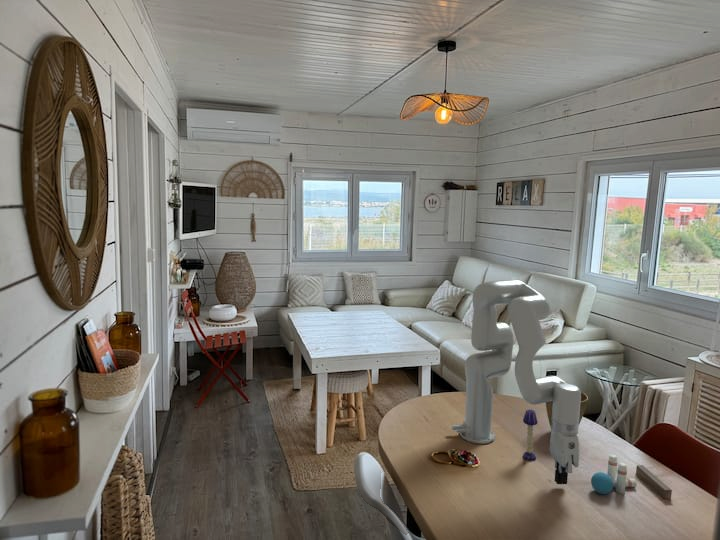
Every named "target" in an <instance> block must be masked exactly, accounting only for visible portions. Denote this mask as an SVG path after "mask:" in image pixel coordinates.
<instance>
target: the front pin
mask: <svg viewBox="0 0 720 540" xmlns="http://www.w3.org/2000/svg"><path fill="white" fill-rule="evenodd" d="M612 481H613V488H616V483H617V478H616V479H612ZM636 487H637V481H636V479H635V478H630V477H629V478H627V477H626V484H625V488H636Z"/></svg>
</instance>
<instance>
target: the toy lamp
mask: <svg viewBox="0 0 720 540" xmlns="http://www.w3.org/2000/svg"><path fill="white" fill-rule="evenodd" d="M522 421H523V424H525V425H527V428H526V429H527V433H526V434H527V437H526V439H527V440H526V443H527V444H526V451H525V452H523V455H522V458H523V459H524V460H526V461H528V462H529V461H530V462H532V461H533V462H534V461H536V459H537V457H536V454H535V452H533V439H534V436H533V435H534V432H533V431H534V428H533V427H534V426H536V425H537V424H538V419H537V414H536V411H535V410H534V409H526V410H525V413H524V416H523V418H522Z"/></svg>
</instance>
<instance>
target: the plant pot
mask: <svg viewBox="0 0 720 540" xmlns="http://www.w3.org/2000/svg"><path fill="white" fill-rule="evenodd" d="M588 400H589V397H588V395H587V394H586V393H584V392H583V391H581V402H580V415H579V425H580V424H581V422H582V419H583V416H584V413H585V411H586V406H587V404H588ZM545 408H546V409H545V410H546V414H547V420H548V423H549V426H550V427H549V428H550V430H551V432H552V429H551V424H552V410H553V401H549V402H545Z"/></svg>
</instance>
